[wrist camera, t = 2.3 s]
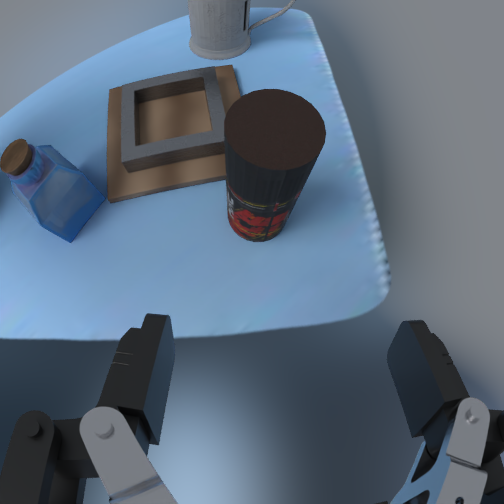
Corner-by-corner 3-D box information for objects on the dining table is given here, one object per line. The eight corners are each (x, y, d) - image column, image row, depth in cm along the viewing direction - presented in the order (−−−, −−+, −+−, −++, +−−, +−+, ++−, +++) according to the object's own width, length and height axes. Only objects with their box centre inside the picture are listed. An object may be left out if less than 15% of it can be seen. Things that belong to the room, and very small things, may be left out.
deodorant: (215, 209, 32) (202, 119, 17) (260, 175, 33) (278, 76, 18) (253, 254, 31) (271, 190, 16) (298, 217, 32) (345, 136, 17)
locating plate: (111, 203, 31) (99, 190, 28) (111, 94, 35) (103, 77, 31) (258, 173, 33) (261, 157, 29) (232, 69, 36) (232, 51, 33)
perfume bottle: (74, 171, 32) (23, 114, 20) (105, 198, 31) (54, 141, 20) (41, 212, 31) (-21, 168, 19) (70, 243, 30) (5, 204, 18)
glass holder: (195, 24, 38) (189, -55, 24) (289, 30, 39) (304, -49, 24) (183, 59, 36) (170, -31, 22) (288, 66, 37) (308, -25, 22)
